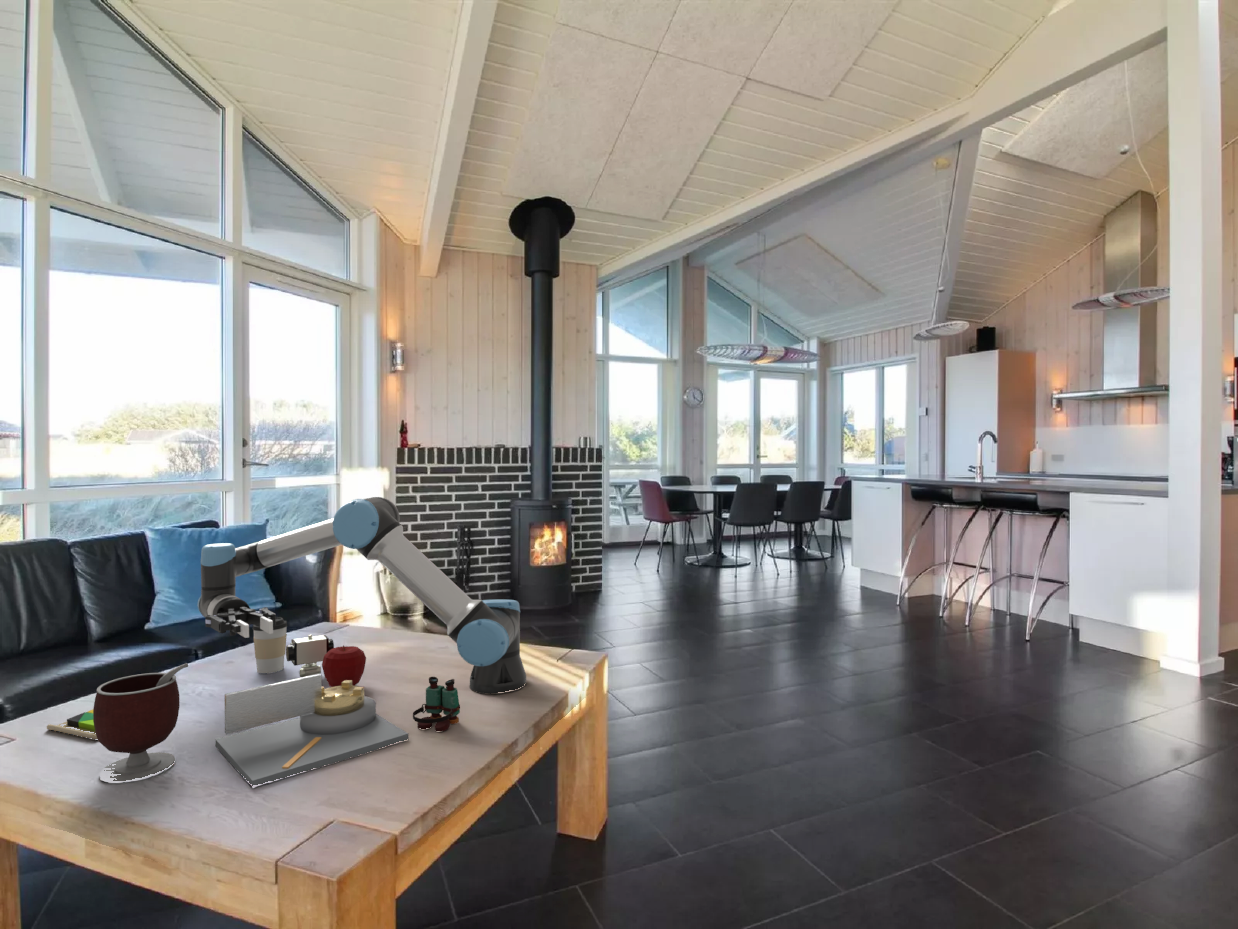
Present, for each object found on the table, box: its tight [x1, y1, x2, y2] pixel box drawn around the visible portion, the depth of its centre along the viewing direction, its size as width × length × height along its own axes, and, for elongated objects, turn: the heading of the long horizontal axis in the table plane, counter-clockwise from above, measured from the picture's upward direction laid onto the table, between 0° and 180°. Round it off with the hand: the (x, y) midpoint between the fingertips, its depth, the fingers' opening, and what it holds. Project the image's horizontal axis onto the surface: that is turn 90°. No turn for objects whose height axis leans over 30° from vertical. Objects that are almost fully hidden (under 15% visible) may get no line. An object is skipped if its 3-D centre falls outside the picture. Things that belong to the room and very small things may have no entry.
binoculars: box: [412, 676, 461, 732], centre depth 155 cm, size 9×11×10 cm
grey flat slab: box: [214, 695, 409, 786], centre depth 146 cm, size 31×26×4 cm
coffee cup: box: [252, 616, 288, 674], centre depth 197 cm, size 9×9×15 cm
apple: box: [321, 644, 367, 687], centre depth 181 cm, size 11×11×12 cm
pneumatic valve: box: [285, 634, 335, 678], centre depth 190 cm, size 6×12×12 cm, turn 125°
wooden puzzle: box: [46, 708, 97, 740], centre depth 159 cm, size 18×19×4 cm
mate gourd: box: [92, 662, 189, 781], centre depth 134 cm, size 16×14×20 cm
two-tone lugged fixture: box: [224, 674, 365, 736], centre depth 149 cm, size 28×11×8 cm, turn 134°
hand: (259, 629), depth 148 cm, fingers open, 4 cm apart
